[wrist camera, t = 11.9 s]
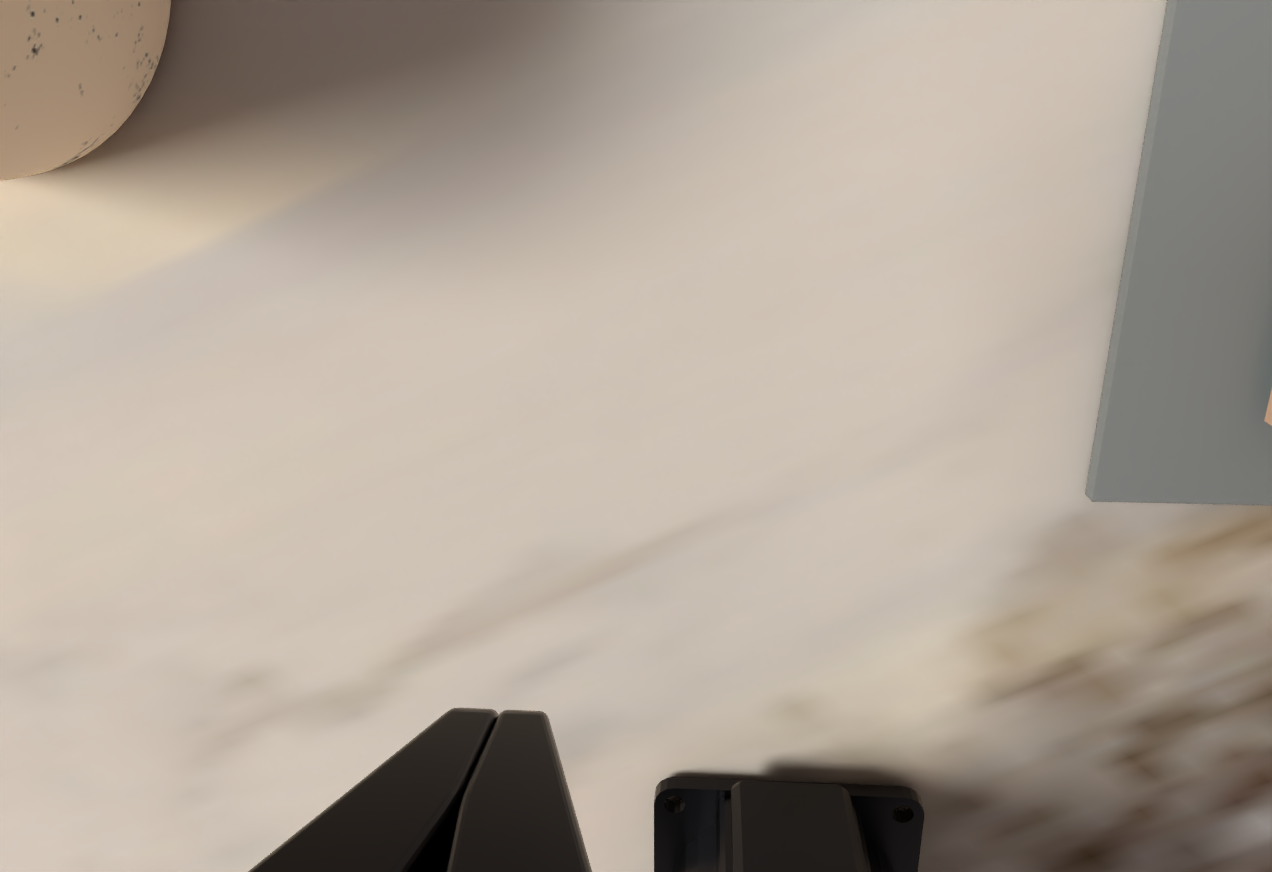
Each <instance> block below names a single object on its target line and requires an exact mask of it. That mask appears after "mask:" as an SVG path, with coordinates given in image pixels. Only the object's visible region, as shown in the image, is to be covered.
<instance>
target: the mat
mask: <svg viewBox="0 0 1272 872" xmlns="http://www.w3.org/2000/svg"><path fill="white" fill-rule="evenodd" d="M1271 389H1272V0H1167V5H1166V11H1165V17H1164V23H1163V29H1162V35H1161V41H1160V47H1159V53H1158V59H1157V65H1156V71H1155V77H1154V83H1153V89H1152V95H1151V101H1150V107H1149V113H1148V119H1147V125H1146V131H1145V137H1144V143H1143V149H1142V155H1141V161H1140V167H1139V173H1138V179H1137V185H1136V191H1135V197H1134V203H1133V209H1132V215H1131V221H1130V227H1129V233H1128V239H1127V245H1126V251H1125V257H1124V263H1123V269H1122V275H1121V281H1120V287H1119V293H1118V299H1117V305H1116V311H1115V317H1114V323H1113V329H1112V335H1111V341H1110V347H1109V353H1108V360H1107V366H1106V372H1105V378H1104V384H1103V390H1102V396H1101V402H1100V408H1099V414H1098V420H1097V426H1096V432H1095V438H1094V444H1093V450H1092V456H1091V462H1090V468H1089V474H1088V480H1087V486H1086V492H1085V494H1086V495H1087V496H1088V498H1089V499H1090V500H1091V501H1093V502H1140V503H1187V504H1234V505H1272V426H1271V425H1270V424H1268V423H1267V422H1265V421H1264V420H1265V415H1266V411H1267V407H1268V402H1269V398H1270V394H1271Z"/></svg>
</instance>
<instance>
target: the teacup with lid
mask: <svg viewBox="0 0 1272 872" xmlns="http://www.w3.org/2000/svg"><path fill="white" fill-rule="evenodd" d="M170 7H171V0H0V181H3V180H9V179H15V178H21V177H27V176H32V175H36V174H40V173H44V172H48V171H51V170H53V169H56V168H59V167H61V166H64V165H67V164H69V163H71V162H73V161H75V160H77V159H79V158H81V157H83V156H85V155H86V154H88V153H89V152H91V151H92V150H94V149H95V148H97V147H98V146H100V145H101V144H102V143H103V142H104V141H106V140H107V139H108V138H109V137H110V136H111V135H113V134H114V133H115V132H116V131H117V130H118V129H119V127H120V126H121V125H122V124H123V123H124V122H125V121H126V120H127V119H128V117H129V116H130V115H131V113H132V112H133V110H134V109H135V108H136V106H137V105H138V103H139V102H140V100H141V99H142V97H143V95H144V93H145V91H146V90H147V88H148V86H149V84H150V82H151V80H152V78H153V75H154V73H155V71H156V68H157V66H158V63H159V60H160V57H161V54H162V50H163V47H164V44H165V40H166V34H167V29H168V24H169V17H170Z"/></svg>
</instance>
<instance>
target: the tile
mask: <svg viewBox="0 0 1272 872" xmlns="http://www.w3.org/2000/svg"><path fill="white" fill-rule="evenodd" d="M1264 421H1265V422H1267V423H1268V424H1270V425H1271V426H1272V389H1271V394H1270V398H1269V402H1268V407H1267V411H1266V415H1265V420H1264Z"/></svg>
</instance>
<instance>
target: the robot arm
mask: <svg viewBox="0 0 1272 872" xmlns="http://www.w3.org/2000/svg"><path fill="white" fill-rule="evenodd" d="M672 796H676V797H680V798H681V799H682V800H681V801H677V802H674V801H670V800H669V799H668V798H669V797H672ZM900 806H907V807H909V808H907V809H906V810H904V811H896V810H894V809H896V808H897V807H900ZM923 820H924V811H923V806H922V803H921V799H920V797H919V795H918V794H917V792H916V791H914V790H912V789H911V788H908V787H903V786H882V785H858V784H833V783H809V782H784V781H760V780H736V779H711V778H687V777H671V778H666V779H664V780H662V781H661V782H660V783H659V784H658V785H657V787H656V791H655V800H654V872H917V871H918V863H919V854H920V846H921V837H922V829H923ZM248 872H592V870H591V867H590V863H589V860H588V856H587V853H586V849H585V845H584V842H583V838H582V835H581V831H580V828H579V824H578V821H577V817H576V814H575V810H574V807H573V803H572V800H571V796H570V792H569V789H568V785H567V782H566V778H565V775H564V771H563V768H562V764H561V761H560V757H559V754H558V750H557V747H556V743H555V740H554V736H553V732H552V729H551V725H550V722H549V719H548V716H547V715H546V714H545V713H544V712H541V711H523V710H505V711H503V712H501V713H500V714H499V715H498V713H497V712H496V711H495V710H492V709H476V708H454V709H451V710H449V711H448V712H446V713H445V714H444V715H442V716H441V717H440V718H439V719H437V720H436V721H435V722H434V723H433V724H431V725H430V726H429V727H428V728H426V729H425V730H424V731H423V732H421V733H420V734H419V735H418V736H416V737H415V738H414V739H413V740H411V741H410V742H409V743H408V744H406V745H405V746H404V747H403V748H401V749H400V750H399V751H398V752H396V753H395V754H394V755H393V756H391V757H390V758H389V759H388V760H386V761H385V762H384V763H383V764H382V765H380V766H379V767H378V768H377V769H375V770H374V771H373V772H372V773H370V774H369V775H368V776H367V777H365V778H364V779H363V780H362V781H360V782H359V783H358V784H357V785H355V786H354V787H353V788H352V789H350V790H349V791H348V792H347V793H345V794H344V795H343V796H342V797H340V798H339V799H338V800H337V801H335V802H334V803H333V804H332V805H331V806H329V807H328V808H327V809H326V810H324V811H323V812H322V813H321V814H319V815H318V816H317V817H316V818H314V819H313V820H312V821H311V822H309V823H308V824H307V825H306V826H304V827H303V828H302V829H301V830H299V831H298V832H297V833H296V834H294V835H293V836H292V837H291V838H289V839H288V840H287V841H286V842H284V843H283V844H282V845H281V846H280V847H278V848H277V849H276V850H275V851H273V852H272V853H271V854H270V855H268V856H267V857H266V858H265V859H263V860H262V861H261V862H260V863H258V864H257V865H256V866H255V867H253V868H252V869H251V870H250V871H248Z"/></svg>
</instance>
